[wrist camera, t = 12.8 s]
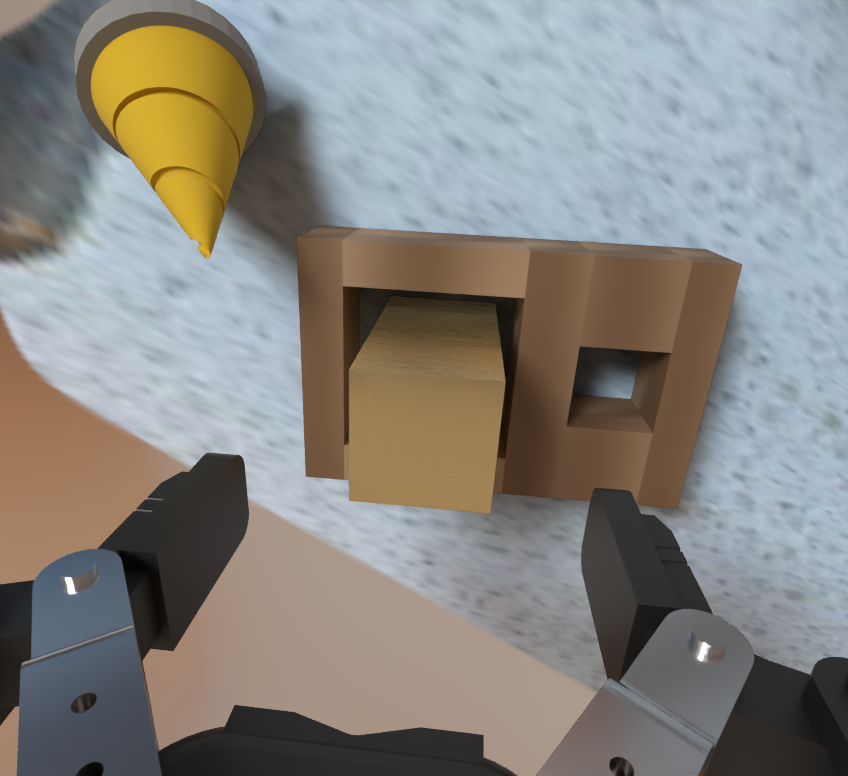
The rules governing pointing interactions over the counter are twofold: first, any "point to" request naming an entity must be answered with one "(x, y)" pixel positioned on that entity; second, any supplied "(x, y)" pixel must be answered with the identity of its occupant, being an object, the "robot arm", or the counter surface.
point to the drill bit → (173, 101)
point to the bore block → (535, 349)
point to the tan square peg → (427, 406)
